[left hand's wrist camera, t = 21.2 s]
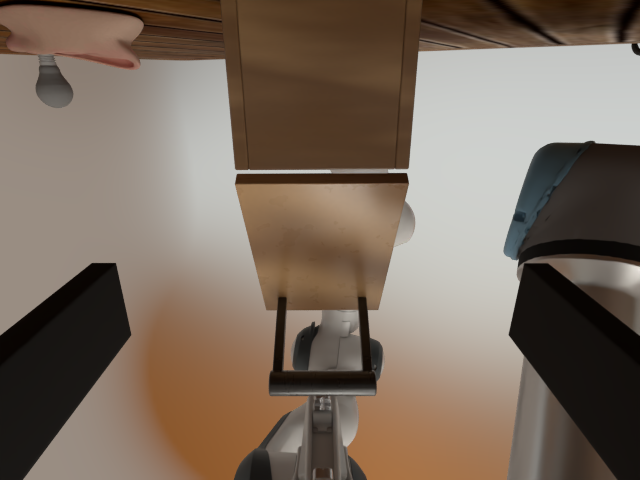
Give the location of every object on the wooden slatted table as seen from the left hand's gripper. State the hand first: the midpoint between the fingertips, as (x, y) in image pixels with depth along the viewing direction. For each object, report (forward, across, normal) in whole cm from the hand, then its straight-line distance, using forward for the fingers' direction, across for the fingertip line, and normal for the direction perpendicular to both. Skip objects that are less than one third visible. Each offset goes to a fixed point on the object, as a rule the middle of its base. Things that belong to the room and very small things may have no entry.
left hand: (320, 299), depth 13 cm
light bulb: (+70, +51, -12) cm, 87 cm away
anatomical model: (+27, +21, -12) cm, 36 cm away
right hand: (+17, 0, +24) cm, 30 cm away
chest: (+18, 0, -12) cm, 21 cm away
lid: (+15, 0, +5) cm, 15 cm away
